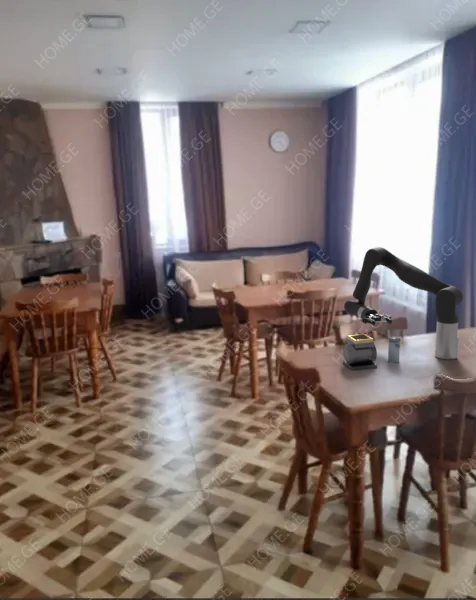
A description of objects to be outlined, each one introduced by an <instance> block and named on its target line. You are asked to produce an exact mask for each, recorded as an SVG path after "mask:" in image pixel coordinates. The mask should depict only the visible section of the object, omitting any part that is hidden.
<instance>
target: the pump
mask: <svg viewBox="0 0 476 600" xmlns="http://www.w3.org/2000/svg"><path fill="white" fill-rule="evenodd" d="M401 341H402V339H401V337H398V336H389V337H387V342H388V345H387V346H388V350H387V352H388V353H387V362H389V363H392V364H397V363H400V351H401V348H400V347H401V345H400V344H401Z"/></svg>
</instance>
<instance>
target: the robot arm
mask: <svg viewBox="0 0 476 600" xmlns="http://www.w3.org/2000/svg"><path fill="white" fill-rule="evenodd" d="M362 262H363V263H362V266H361V271H360V273H359V277H358V280H357V283H356V285H355V287H354V290H353V292H352V296H353V298H354V299H356V300H353V299H347V301H346V302H345V303H344V306H343V309H344V311H345V312H346V313H348V314H349V315H353V316H356V317H358V318H359V319H360V321H361V323H363V324H364V325H366V324H369V325H371V326H375V325H376V323H387V324H389V325H391V324H393V320H392V316H391V315H388V314H387V313H384V314H379V312H378V311H377V310H376V309H374V308H372V307H370V306H367V305H365V304H366V303H365V302H366V298H367V295H368V293H369V291H370V287H371V283H372V282H371V281H372V280H371V279H372V276H373V275H372V274H373V272H374V270H375V269H376V267H377V266H383V267H385V268H387V269H389V270H391V271H392V272H393V273H394V274H395V275H396V277H397V278H398V279H399V280H400V281H402V282H403V283H405V284H406V285H408V286H410V287H412V288H414V289H418V290H421V291H424V292H428V293H430V294H433V295H435V316H436V331H435V335H436V337H435V350H434V352H435V353H434V356H435V357H436V358H438V359H442V360H454V359H458V356H459V355H458V354H459V338H458V332H459V331H458V330H459V316H458V315H457V313H456V306H457V305H459V304H461V303H462V301H463V299H464V295H463V292H462V291H461V290H460V289H459V288H458V287H456V286H454V285H451V284H449V283H446V282H444V281H442V280H440V279H437V278H436V277H434V276H433V275H431V274H430V273H428V272H425V271H424V270H422V269H420V268H418V267H417V266H416V265H414V264H411V263H409V262H407V261H406V260H403V259H402V258H400V257H398V256H396V255H395V254H393V253H392V252H391V251H390V250H388V249H386V248H384V247H382V246H377V247H373V248H370V249H368V250H367V251H366V252H365V254H364V258H363V261H362Z"/></svg>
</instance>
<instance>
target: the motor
mask: <svg viewBox="0 0 476 600" xmlns="http://www.w3.org/2000/svg"><path fill="white" fill-rule="evenodd" d="M377 356H378V351H377V347H376V345H375V342H374V338H373V337H371V336H370V335H367V334H366V333H360V334H349V335H347V338H346V343H345V345H344V346H343V358H344V359H343V361H342V364H344V366H346V367H347V368H348V369H350V370H351V371H361V370H369V369H377V368H378V364H377V363H376V362H375V361H376V360H377V359H378V358H377Z"/></svg>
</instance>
